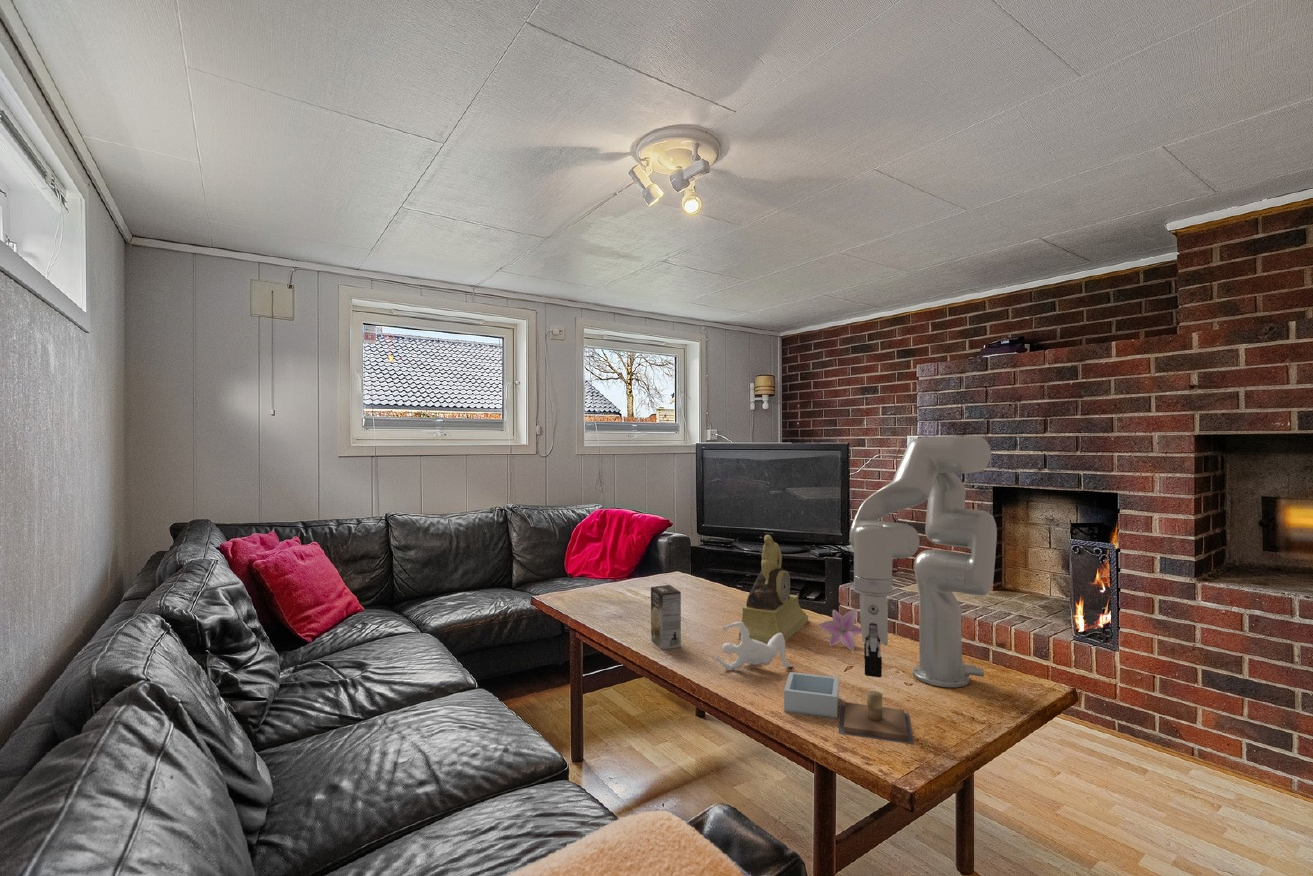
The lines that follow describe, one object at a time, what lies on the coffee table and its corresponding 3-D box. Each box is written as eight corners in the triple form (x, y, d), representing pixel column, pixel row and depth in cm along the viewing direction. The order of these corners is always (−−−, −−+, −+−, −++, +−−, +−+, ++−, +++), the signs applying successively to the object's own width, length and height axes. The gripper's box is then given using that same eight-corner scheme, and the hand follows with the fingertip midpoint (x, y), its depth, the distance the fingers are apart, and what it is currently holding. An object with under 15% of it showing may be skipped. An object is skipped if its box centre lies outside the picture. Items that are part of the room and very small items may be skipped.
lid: (903, 714, 129) (903, 686, 129) (908, 740, 117) (907, 710, 117) (845, 706, 133) (844, 679, 133) (843, 731, 121) (843, 702, 121)
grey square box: (838, 699, 137) (838, 677, 137) (837, 720, 127) (836, 697, 127) (789, 693, 141) (789, 672, 141) (784, 713, 131) (784, 690, 131)
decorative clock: (780, 646, 174) (779, 542, 174) (738, 639, 180) (738, 539, 180) (808, 621, 198) (807, 530, 198) (770, 615, 204) (769, 527, 204)
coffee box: (650, 640, 180) (649, 586, 180) (669, 637, 182) (669, 584, 182) (661, 650, 171) (661, 593, 171) (682, 647, 173) (681, 591, 174)
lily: (814, 643, 179) (812, 619, 175) (839, 622, 185) (839, 598, 180) (847, 666, 170) (847, 642, 166) (873, 643, 175) (873, 619, 171)
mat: (908, 714, 129) (908, 713, 129) (914, 746, 116) (914, 744, 116) (840, 706, 134) (840, 704, 134) (838, 735, 121) (838, 733, 121)
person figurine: (766, 616, 167) (724, 617, 155) (803, 637, 157) (761, 640, 145) (753, 660, 167) (710, 665, 155) (789, 684, 158) (747, 691, 146)
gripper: (894, 595, 116) (894, 685, 115) (890, 578, 132) (890, 657, 132) (853, 592, 118) (853, 680, 118) (854, 575, 135) (854, 653, 134)
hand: (872, 668), depth 125 cm, fingers open, 9 cm apart
